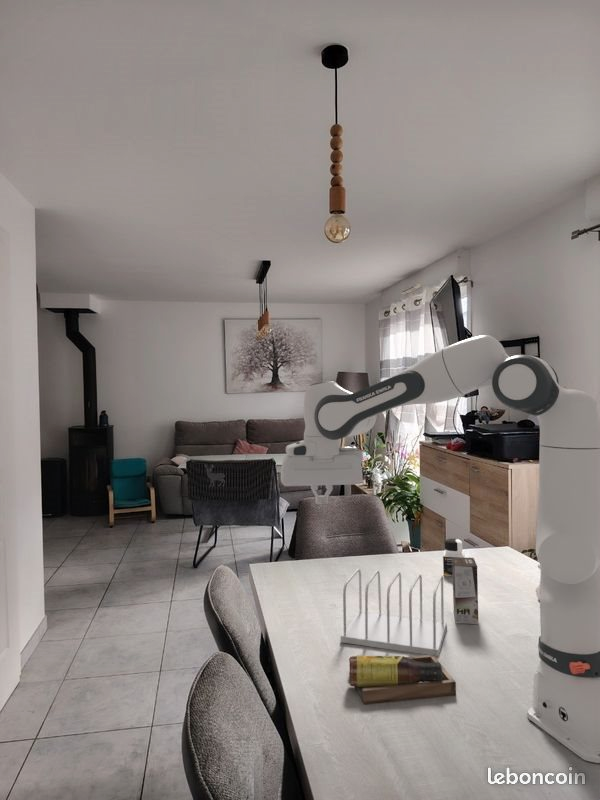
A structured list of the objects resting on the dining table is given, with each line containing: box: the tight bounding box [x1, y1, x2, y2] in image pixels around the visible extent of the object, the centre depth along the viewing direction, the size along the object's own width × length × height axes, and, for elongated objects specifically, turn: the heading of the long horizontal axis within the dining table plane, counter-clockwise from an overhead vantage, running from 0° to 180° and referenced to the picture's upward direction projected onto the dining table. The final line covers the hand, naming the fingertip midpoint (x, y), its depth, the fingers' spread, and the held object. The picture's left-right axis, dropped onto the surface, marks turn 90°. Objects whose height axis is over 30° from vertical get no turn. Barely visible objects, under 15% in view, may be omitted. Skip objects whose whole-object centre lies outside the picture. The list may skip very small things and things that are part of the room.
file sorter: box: [340, 568, 448, 657], centre depth 150 cm, size 25×17×16 cm
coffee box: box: [452, 557, 479, 625], centre depth 161 cm, size 9×6×16 cm
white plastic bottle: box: [442, 538, 465, 577], centre depth 201 cm, size 7×7×12 cm
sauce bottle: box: [348, 654, 442, 687], centre depth 123 cm, size 7×6×20 cm
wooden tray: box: [355, 654, 457, 705], centre depth 125 cm, size 13×20×3 cm, turn 98°
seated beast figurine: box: [535, 564, 541, 601], centre depth 172 cm, size 10×9×12 cm
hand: (321, 503), depth 140 cm, fingers closed
